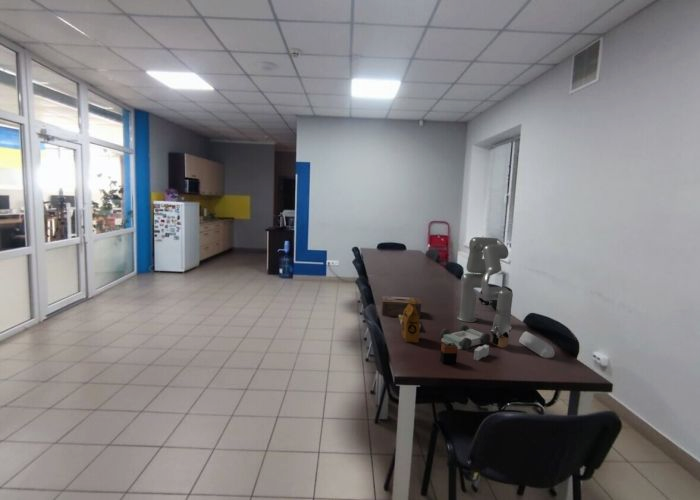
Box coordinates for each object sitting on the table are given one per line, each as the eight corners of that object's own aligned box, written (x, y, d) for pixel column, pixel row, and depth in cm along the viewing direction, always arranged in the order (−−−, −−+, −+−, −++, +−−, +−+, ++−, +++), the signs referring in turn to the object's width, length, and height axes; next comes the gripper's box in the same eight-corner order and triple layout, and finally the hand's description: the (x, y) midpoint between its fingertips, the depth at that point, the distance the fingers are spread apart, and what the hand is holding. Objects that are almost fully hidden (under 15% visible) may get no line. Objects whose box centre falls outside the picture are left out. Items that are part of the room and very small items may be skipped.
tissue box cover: (417, 311, 268) (418, 298, 266) (420, 318, 254) (421, 303, 252) (381, 309, 269) (382, 295, 268) (381, 315, 255) (382, 301, 253)
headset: (489, 316, 292) (512, 309, 266) (474, 308, 292) (495, 300, 265) (495, 296, 300) (518, 287, 273) (480, 288, 299) (502, 278, 273)
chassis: (466, 333, 227) (467, 323, 226) (490, 343, 213) (491, 332, 212) (438, 339, 214) (439, 329, 213) (462, 350, 200) (463, 340, 199)
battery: (439, 360, 187) (441, 341, 185) (452, 360, 187) (454, 341, 186) (443, 364, 182) (444, 344, 181) (456, 364, 183) (458, 344, 182)
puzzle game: (401, 323, 226) (398, 313, 246) (401, 330, 227) (398, 320, 247) (421, 324, 226) (416, 314, 246) (420, 332, 227) (416, 321, 246)
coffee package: (402, 342, 208) (405, 304, 204) (400, 334, 220) (402, 298, 217) (420, 343, 207) (423, 305, 204) (417, 335, 219) (420, 299, 216)
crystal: (514, 335, 217) (541, 352, 194) (525, 329, 218) (553, 345, 194) (519, 345, 219) (546, 363, 195) (529, 339, 219) (558, 357, 196)
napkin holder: (474, 363, 186) (476, 352, 186) (463, 353, 197) (464, 343, 197) (501, 361, 190) (503, 351, 189) (488, 352, 201) (490, 342, 200)
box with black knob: (492, 344, 212) (493, 334, 211) (497, 342, 214) (498, 332, 213) (502, 348, 207) (503, 337, 206) (507, 346, 209) (508, 336, 208)
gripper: (506, 308, 216) (503, 337, 218) (487, 312, 206) (484, 342, 209) (518, 312, 210) (515, 342, 212) (499, 316, 200) (496, 347, 202)
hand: (500, 342), depth 210 cm, fingers open, 8 cm apart
